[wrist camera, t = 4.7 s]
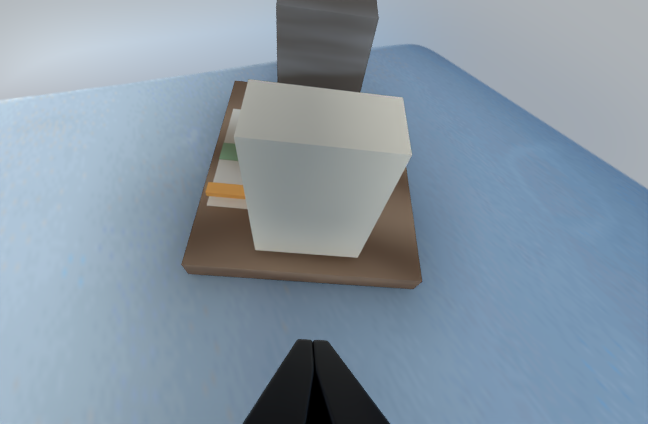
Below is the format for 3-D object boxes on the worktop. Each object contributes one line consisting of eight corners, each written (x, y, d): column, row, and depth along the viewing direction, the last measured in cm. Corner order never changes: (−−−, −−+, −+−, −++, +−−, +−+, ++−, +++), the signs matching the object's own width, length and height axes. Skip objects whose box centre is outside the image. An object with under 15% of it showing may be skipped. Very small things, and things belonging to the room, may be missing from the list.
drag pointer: (289, 204, 20) (290, 185, 18) (206, 197, 19) (198, 176, 17) (291, 191, 20) (291, 171, 18) (209, 184, 20) (202, 162, 18)
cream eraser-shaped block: (357, 257, 18) (411, 155, 10) (255, 250, 18) (233, 136, 10) (355, 166, 22) (393, 40, 14) (270, 157, 21) (262, 23, 14)
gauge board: (413, 288, 20) (504, 212, 12) (188, 273, 18) (114, 177, 10) (391, 113, 28) (434, -1, 20) (237, 95, 27) (218, -33, 19)
